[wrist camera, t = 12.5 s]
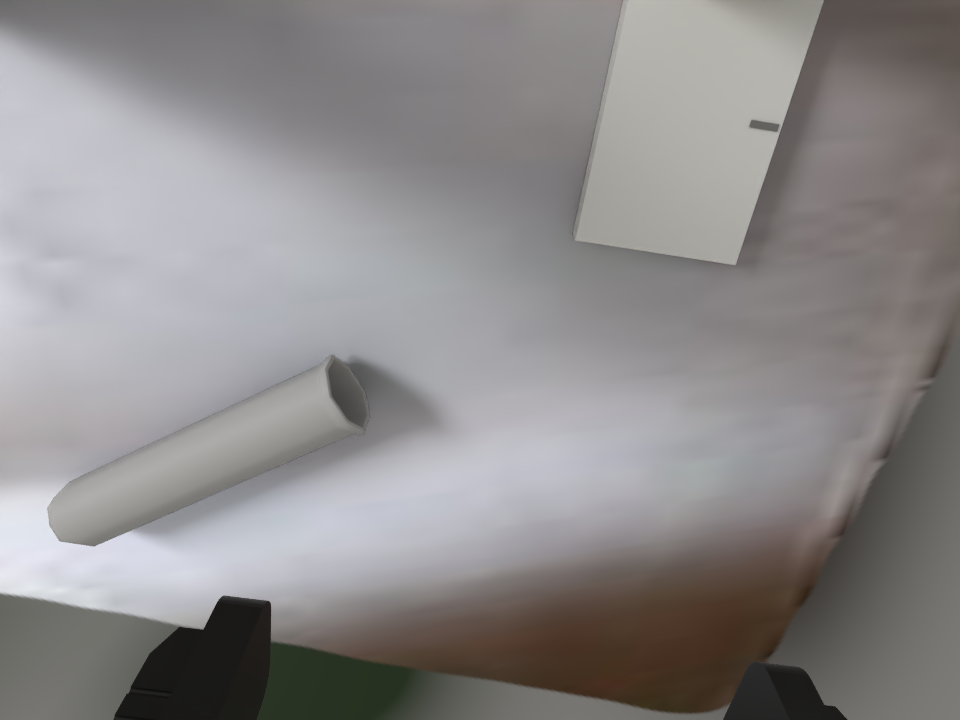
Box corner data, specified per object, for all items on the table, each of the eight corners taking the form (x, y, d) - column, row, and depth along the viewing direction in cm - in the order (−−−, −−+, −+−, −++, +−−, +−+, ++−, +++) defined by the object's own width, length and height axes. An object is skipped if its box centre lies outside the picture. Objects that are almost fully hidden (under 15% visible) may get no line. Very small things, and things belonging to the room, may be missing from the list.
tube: (81, 569, 47) (370, 445, 42) (17, 536, 44) (322, 397, 39) (104, 509, 51) (370, 389, 46) (46, 474, 48) (327, 341, 43)
